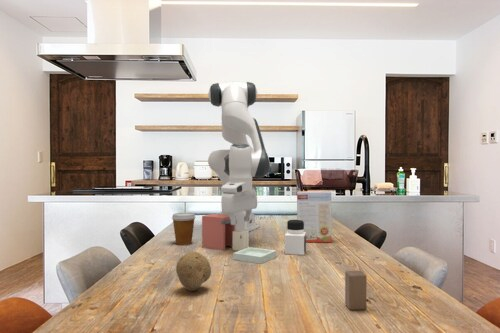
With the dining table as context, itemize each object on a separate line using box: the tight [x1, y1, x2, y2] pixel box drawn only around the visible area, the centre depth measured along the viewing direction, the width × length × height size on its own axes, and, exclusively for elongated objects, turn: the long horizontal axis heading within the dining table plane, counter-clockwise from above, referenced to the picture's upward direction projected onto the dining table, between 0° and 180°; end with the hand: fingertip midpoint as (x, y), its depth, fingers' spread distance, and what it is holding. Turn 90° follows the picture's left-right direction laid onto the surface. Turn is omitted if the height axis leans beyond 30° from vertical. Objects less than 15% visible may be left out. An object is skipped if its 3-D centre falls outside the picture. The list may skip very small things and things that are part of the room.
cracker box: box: [296, 190, 333, 243], centre depth 171 cm, size 14×6×21 cm, turn 84°
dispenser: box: [201, 213, 236, 251], centre depth 160 cm, size 9×10×12 cm
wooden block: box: [344, 270, 368, 311], centre depth 94 cm, size 4×4×8 cm
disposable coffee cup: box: [171, 212, 196, 246], centre depth 167 cm, size 10×10×12 cm
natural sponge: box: [175, 251, 212, 292], centre depth 107 cm, size 9×9×10 cm
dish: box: [232, 246, 277, 265], centre depth 141 cm, size 11×11×2 cm
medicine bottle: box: [284, 218, 307, 256], centre depth 150 cm, size 7×7×12 cm
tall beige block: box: [232, 230, 250, 252], centre depth 155 cm, size 4×5×7 cm
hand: (240, 222), depth 155 cm, fingers open, 8 cm apart
